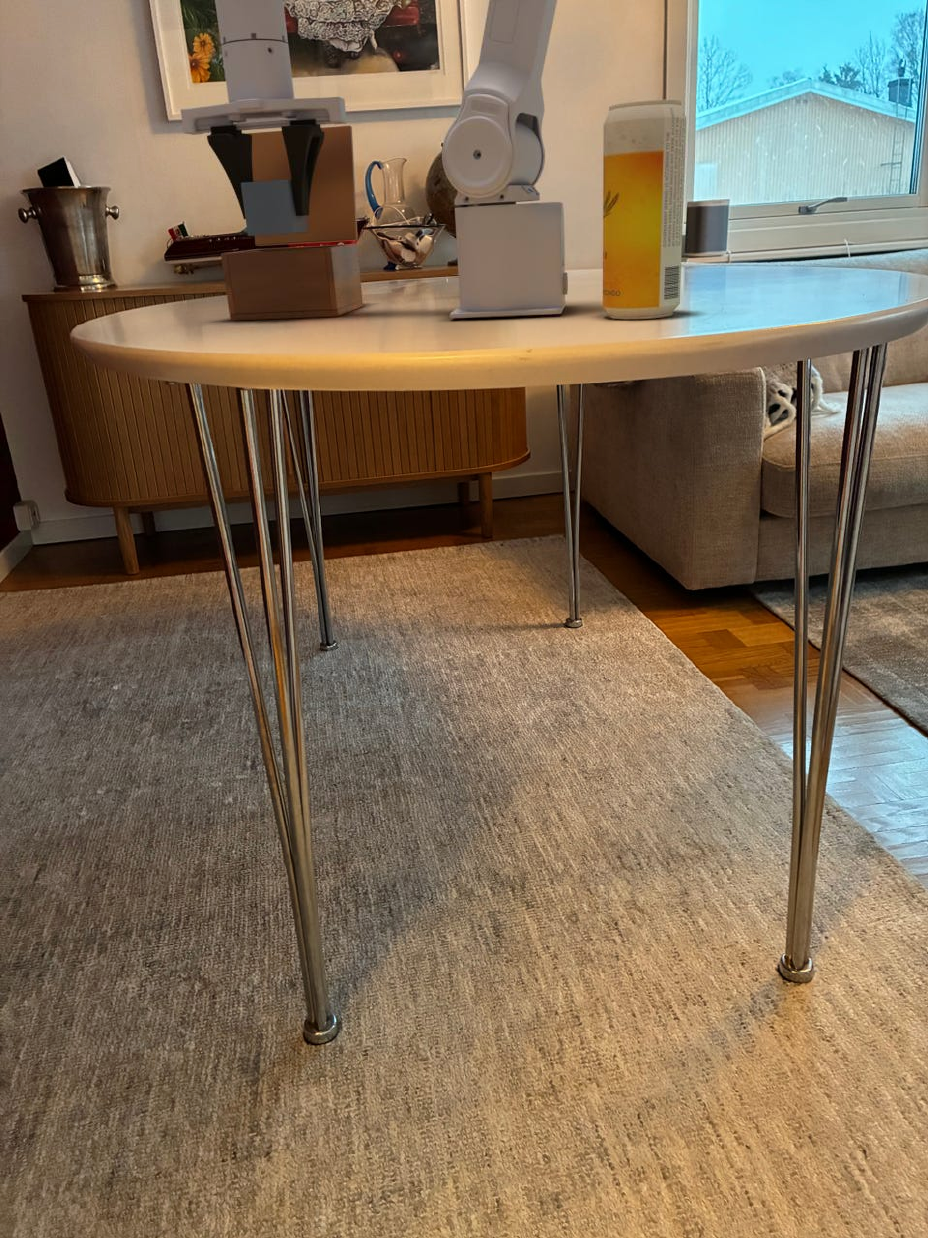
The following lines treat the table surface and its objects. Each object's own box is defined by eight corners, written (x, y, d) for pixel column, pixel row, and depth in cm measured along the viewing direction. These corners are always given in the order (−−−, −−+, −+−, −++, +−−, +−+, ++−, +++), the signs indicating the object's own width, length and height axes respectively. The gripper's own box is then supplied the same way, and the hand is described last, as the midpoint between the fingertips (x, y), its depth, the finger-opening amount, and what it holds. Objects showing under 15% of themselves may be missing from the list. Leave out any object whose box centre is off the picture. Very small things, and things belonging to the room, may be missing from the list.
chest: (337, 316, 88) (330, 247, 86) (230, 320, 90) (220, 253, 87) (363, 306, 97) (357, 243, 95) (264, 310, 99) (256, 248, 96)
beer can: (626, 310, 79) (629, 110, 73) (692, 312, 75) (701, 101, 69) (588, 319, 74) (588, 106, 68) (656, 320, 71) (662, 96, 65)
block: (308, 232, 88) (302, 180, 86) (294, 233, 84) (287, 179, 82) (263, 234, 88) (257, 183, 86) (247, 235, 84) (240, 182, 82)
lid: (350, 124, 92) (352, 126, 92) (246, 132, 93) (248, 134, 94) (356, 239, 94) (357, 240, 95) (255, 244, 96) (257, 245, 96)
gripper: (155, 45, 77) (183, 222, 83) (323, 30, 75) (341, 213, 81) (190, 57, 84) (214, 221, 89) (345, 44, 82) (360, 212, 87)
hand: (276, 217), depth 85 cm, fingers closed on block, 4 cm apart
